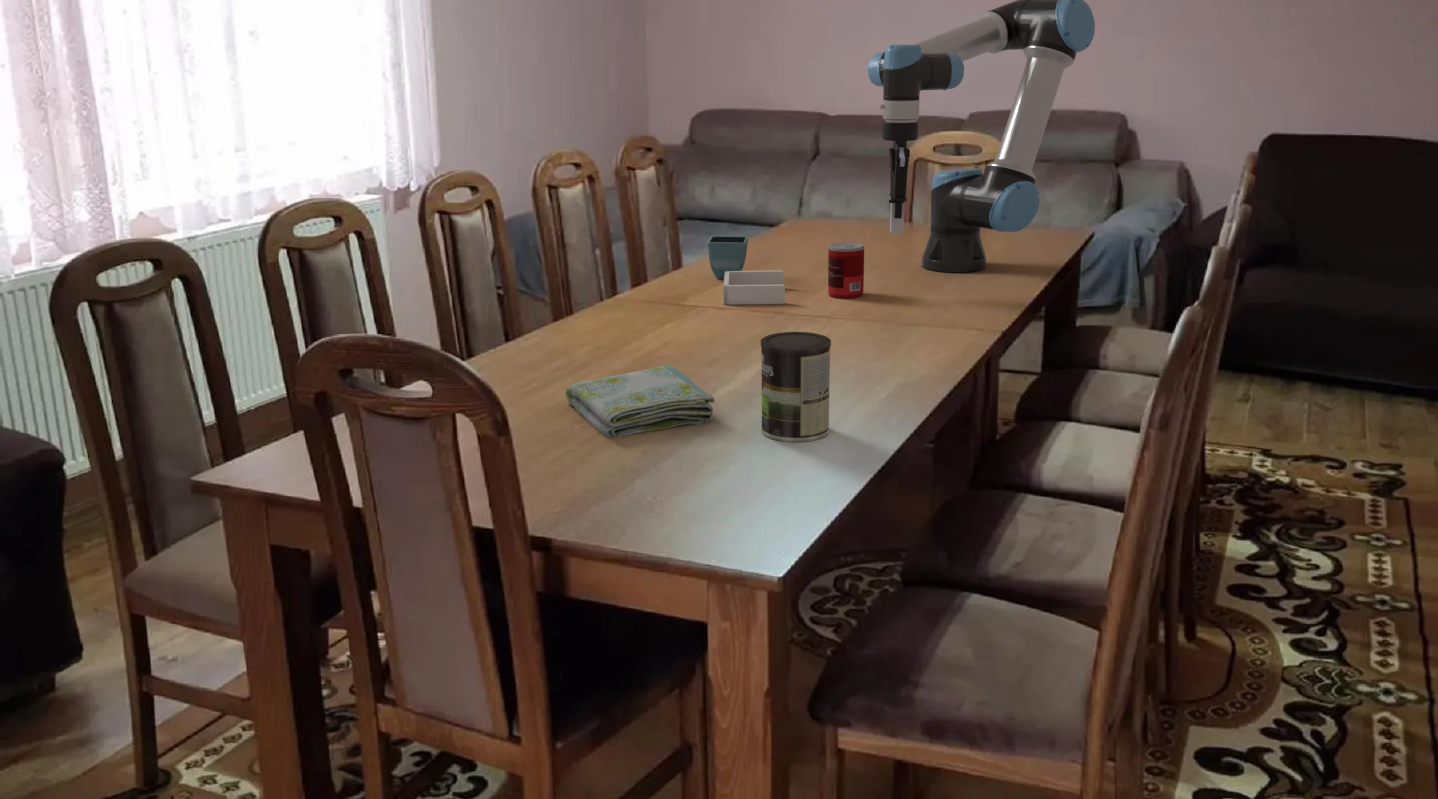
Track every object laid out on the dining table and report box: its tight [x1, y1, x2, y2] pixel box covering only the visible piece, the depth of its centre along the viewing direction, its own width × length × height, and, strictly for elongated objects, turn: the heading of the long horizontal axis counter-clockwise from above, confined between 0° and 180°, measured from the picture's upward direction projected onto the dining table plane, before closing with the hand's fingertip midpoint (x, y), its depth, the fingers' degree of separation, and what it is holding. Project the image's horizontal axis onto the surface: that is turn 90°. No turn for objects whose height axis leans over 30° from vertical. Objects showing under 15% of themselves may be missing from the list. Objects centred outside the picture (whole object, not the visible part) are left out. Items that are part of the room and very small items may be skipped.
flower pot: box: [706, 235, 749, 279], centre depth 298 cm, size 9×9×9 cm
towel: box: [565, 365, 715, 438], centre depth 200 cm, size 18×21×5 cm
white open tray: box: [723, 270, 786, 306], centre depth 279 cm, size 13×16×4 cm
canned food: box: [827, 241, 865, 300], centre depth 277 cm, size 8×8×11 cm
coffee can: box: [760, 331, 832, 443], centre depth 188 cm, size 10×10×14 cm
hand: (896, 232), depth 274 cm, fingers closed
